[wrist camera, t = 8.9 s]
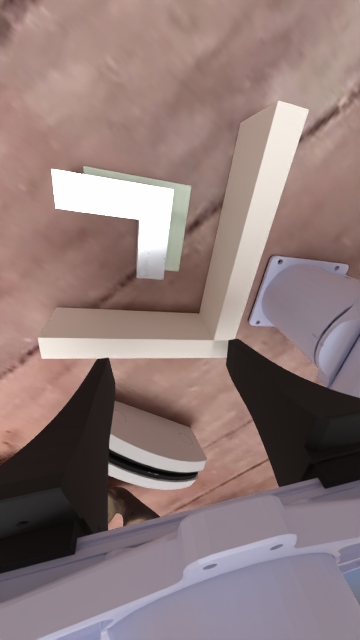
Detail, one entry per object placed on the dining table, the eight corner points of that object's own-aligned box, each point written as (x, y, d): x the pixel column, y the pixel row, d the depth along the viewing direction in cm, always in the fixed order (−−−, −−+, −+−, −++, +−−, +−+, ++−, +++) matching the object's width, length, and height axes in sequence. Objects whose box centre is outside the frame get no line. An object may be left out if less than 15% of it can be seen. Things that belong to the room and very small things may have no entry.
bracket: (75, 257, 19) (62, 272, 15) (68, 172, 16) (51, 168, 12) (158, 264, 20) (163, 279, 17) (165, 189, 17) (173, 189, 14)
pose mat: (190, 186, 18) (191, 186, 18) (178, 270, 21) (178, 271, 21) (83, 166, 16) (83, 166, 16) (88, 262, 19) (88, 263, 19)
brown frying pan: (-47, 439, 27) (-104, 519, 20) (173, 459, 38) (181, 515, 32) (-59, 524, 35) (-101, 600, 29) (124, 520, 47) (123, 574, 40)
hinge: (70, 416, 28) (64, 487, 19) (90, 384, 28) (94, 440, 20) (171, 446, 36) (201, 507, 27) (187, 421, 36) (221, 473, 27)
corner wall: (264, 129, 17) (309, 109, 13) (212, 329, 26) (228, 357, 21) (24, 64, 13) (-26, 6, 9) (59, 325, 22) (41, 358, 18)
